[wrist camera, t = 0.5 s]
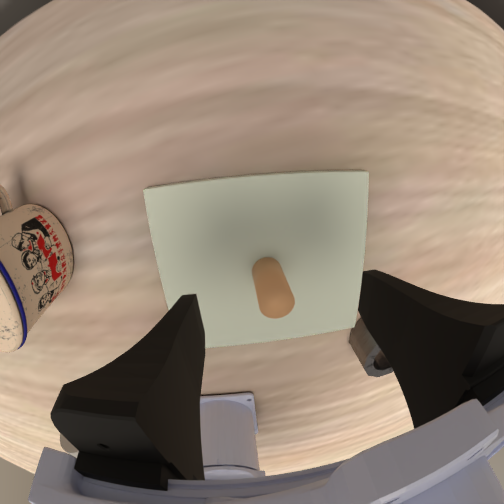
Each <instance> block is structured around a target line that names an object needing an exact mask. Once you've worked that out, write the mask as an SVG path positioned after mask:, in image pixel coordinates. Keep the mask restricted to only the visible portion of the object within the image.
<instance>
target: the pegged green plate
mask: <svg viewBox="0 0 504 504" xmlns="http://www.w3.org/2000/svg"><path fill="white" fill-rule="evenodd" d="M368 183H369V172H368V171H364V170H328V171H300V172H281V173H266V174H253V175H241V176H231V177H221V178H212V179H203V180H195V181H187V182H180V183H173V184H166V185H159V186H153V187H147V188H145V189H144V190H143V192H144V199H145V205H146V210H147V216H148V222H149V227H150V232H151V237H152V242H153V247H154V252H155V256H156V261H157V265H158V270H159V274H160V278H161V282H162V286H163V290H164V294H165V298H166V302H167V306H168V309H169V310H170V309H171V307H172V306H173V305H174V304H175V303H176V301H177V300H178V299H179V298H180V297H181V296H182V295H188V294H197V299H198V304H199V308H200V313H201V317H202V322H203V326H204V330H205V348H214V347H225V346H236V345H246V344H254V343H263V342H271V341H278V340H285V339H292V338H298V337H305V336H311V335H317V334H322V333H328V332H333V331H339V330H344V329H349V328H353V327H355V323H356V317H357V310H358V304H359V297H360V289H361V282H362V273H363V264H364V254H365V243H366V230H367V213H368Z"/></svg>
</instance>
